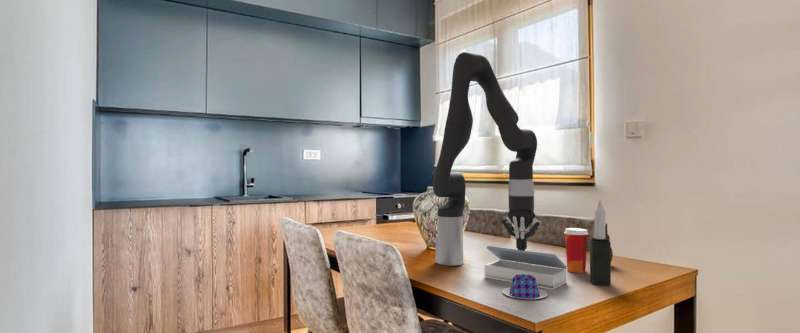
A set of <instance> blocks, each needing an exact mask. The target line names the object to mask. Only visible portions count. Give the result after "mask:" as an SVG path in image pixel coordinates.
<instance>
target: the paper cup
mask: <svg viewBox="0 0 800 333" xmlns="http://www.w3.org/2000/svg"><path fill="white" fill-rule="evenodd" d="M563 233H564V239H565V254H566V255H565V256H566V258H565V259H566V271H567V272H569V273H572V274H573V273H575V274H583V273H586V266H587V252H588V250H587V249H588V236H589V232H588V229H587V228H586V229H585V228H580V227H567V228H565V229H564V232H563Z"/></svg>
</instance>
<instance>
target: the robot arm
mask: <svg viewBox="0 0 800 333" xmlns="http://www.w3.org/2000/svg"><path fill="white" fill-rule="evenodd" d="M453 63H454V64H453V70H452V79H451V89H450V90H451V92H450V99H449V103H448V104H449V105H448V112H447V116H446V120H445V126H444V132H443V138H442V143H441V149H440V153H439V157H438V160H437V164H436V168H435V171H434V174H433V177H432V178H433V180H432V191H433V194H434V196H436V197H437V198H448V200H447V201H446V202H445V204H443V205H441V206H439V207H438V209H437V235H436V236H435V239H434V240H435V241H434V243H435V250H434V251H435V257H434V258H435V263H436V264H438V265H442V266H451V267H452V266H454V267H455V266H461V265H463V264H464V211H465V207H466V206H465V205H466V180H465V177H464V175H463V173H462V172H461V171H452V168H453V165H454V163H455V160H456V159H457V158H458V156H459V155H460V153H462V151H463V150H464V149H465V147H466V146H467V144H468V143H469V140H470V139H471V134H472V128H473V125H474V117H473V113H472V108H471V106H470V103H469V102H470V101H469V91H470V85H471V82H476V83H477V84H478V85H479V86H480V87H481V88H482V90H483V92H484V94H485V104H486V108H487V111H488V113H489V115H490V116H491V118H492V120H493V121H494V123H495V125H496V126H497V129H498V132H499V135H500V138H501V141H502V143H503V144H504V147H506V149H508V150H509V151H510V152H514V153H516V154H515V158H514V159H513V160H511V161H510V162H509V165H508V179H509V180H508V213H507V216H506V217H505V218H502V219H501V224H502V225H503V226H504V228H505V229H506V230H507V232H508V234H509V235H510V236H511V237H514V238H515V240H516V242H515V243H516V244H515V246H516V250H523V251H526V250H527V248H528V239H529V238H531V237H534V235H535V234H536V233H537V232H538V231H539V229H540V228H541V227H542V225H543V221H542V220H539V219H537V217H536V214H535V184H534V176H533V175H534V170H533V168H534V167H533V165H534V162H535V157H536V154H537V148H538V139H537V135H536V133H535V132H534V131H533V130H532V129H529V128H527V129H526V128H520V127H519V126H518V122H519V119H520V117H519V115H518V113H517V112H516V110H515V108H514V107H513V105H512V104H511V103H510V101H509V99H508V98H507V97H506V95H505V94H504V91H503V89H502V88H501V86H500V85H501V84H500V83H499V81H498V79H497V76H496V75H495V72H494V70H493V67H492V65H491V62H490V61H489V60H488V58H487V57H486V56H485V55H484V54H481V53H475V52H468V51H467V52H466V51H464V52H463V51H462V52H461V53H459V54H457V56H456V59H455V61H454V62H453ZM531 225H532V227H531V228H530V226H531Z"/></svg>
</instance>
